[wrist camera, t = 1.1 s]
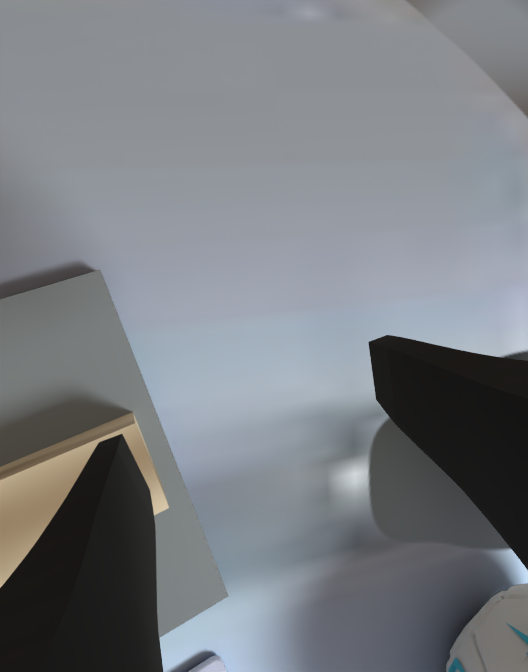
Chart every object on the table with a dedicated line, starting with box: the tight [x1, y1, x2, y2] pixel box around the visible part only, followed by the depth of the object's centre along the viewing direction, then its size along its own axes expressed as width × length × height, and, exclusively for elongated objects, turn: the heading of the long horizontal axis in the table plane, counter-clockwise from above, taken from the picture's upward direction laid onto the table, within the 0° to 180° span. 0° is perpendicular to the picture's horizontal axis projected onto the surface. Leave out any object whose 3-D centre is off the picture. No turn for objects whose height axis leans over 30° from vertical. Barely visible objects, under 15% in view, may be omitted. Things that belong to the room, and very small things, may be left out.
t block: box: [0, 412, 169, 588], centre depth 17 cm, size 12×12×3 cm
